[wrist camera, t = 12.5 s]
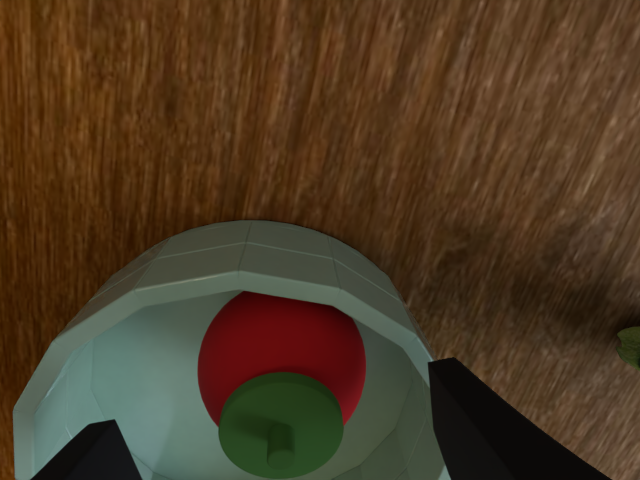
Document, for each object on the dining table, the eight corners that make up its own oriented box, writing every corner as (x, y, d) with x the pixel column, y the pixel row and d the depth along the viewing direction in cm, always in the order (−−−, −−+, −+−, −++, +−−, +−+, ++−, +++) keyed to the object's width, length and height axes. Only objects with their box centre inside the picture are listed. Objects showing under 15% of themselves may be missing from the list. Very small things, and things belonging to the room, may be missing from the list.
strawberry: (232, 384, 15) (201, 552, 10) (197, 267, 13) (135, 394, 8) (361, 361, 15) (400, 515, 10) (342, 241, 13) (377, 350, 8)
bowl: (147, 515, 17) (108, 634, 14) (25, 256, 13) (-80, 327, 9) (430, 464, 17) (468, 569, 14) (404, 188, 13) (449, 232, 9)
